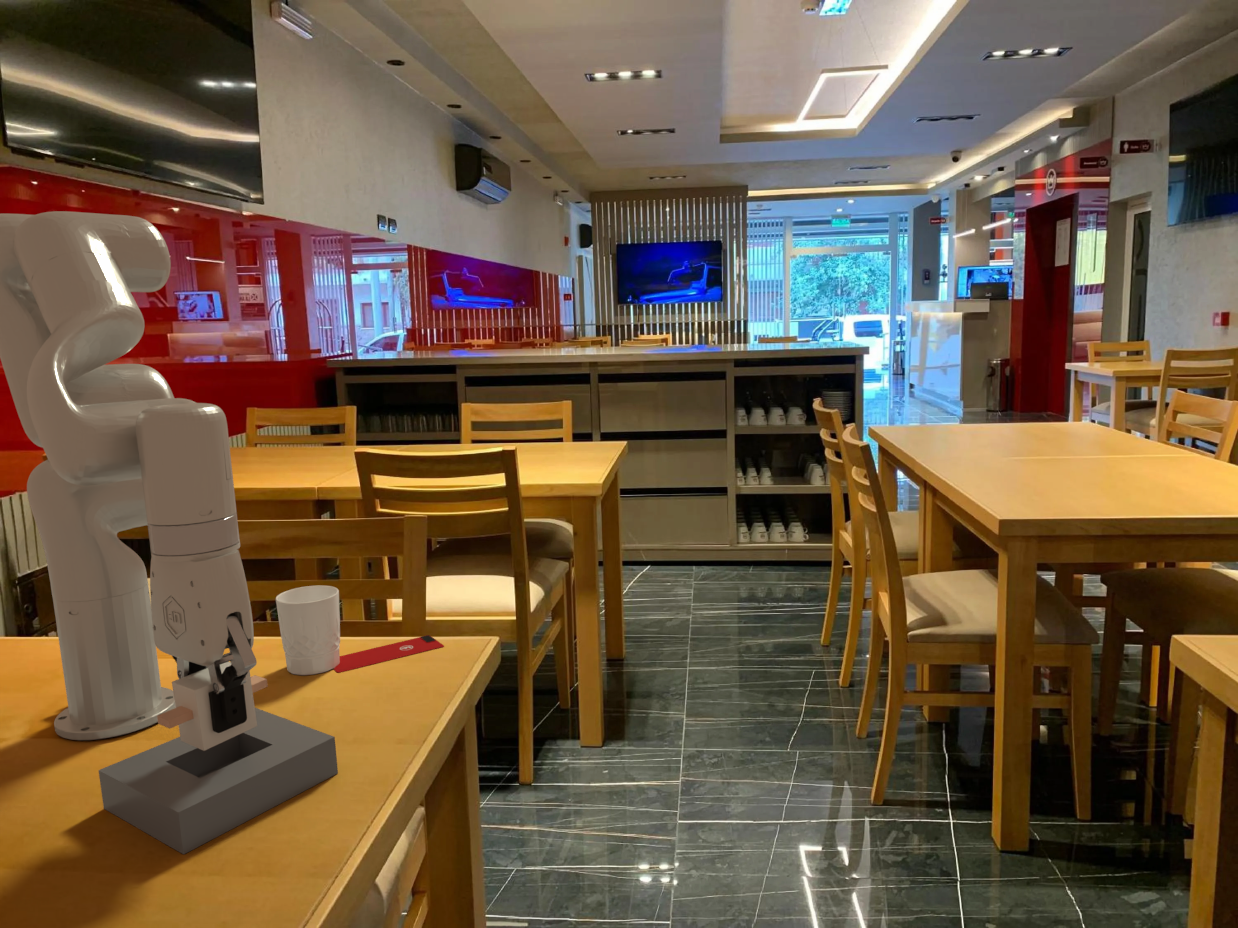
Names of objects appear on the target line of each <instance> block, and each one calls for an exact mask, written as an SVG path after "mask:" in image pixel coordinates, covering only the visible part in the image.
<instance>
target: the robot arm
mask: <svg viewBox="0 0 1238 928" xmlns="http://www.w3.org/2000/svg"><path fill="white" fill-rule="evenodd" d="M170 256H171V255H170V252H169V247H168V245H167V242H166V240H165V238H164V237H163V235H162V233H161V232H160V231H159V230H158V228H157V227H156V226H154V225H153V223H151V222H150V221H149V220H147V219H145V218H142V217H140V216H134V215H133V216H132V215H126V214H125V215H124V214H111V213H110V214H109V213H99V212H98V213H95V212H81V211H67V210H65V211H64V210H63V211H57V210H56V211H55V210H53V211H46V212H44V211H43V212H40V213H37V214H26V213H0V362H1V364H2V365H1V366H2V369H3V371H4V375H5V378H6V382H7V385H8V387H9V391H10V394H11V397H12V400H13V403H14V406H15V409H16V412H17V415H18V418H19V420H20V424H21V426H22V428H23V431H24V433H25V434H26V437H27V438H28V439H29V440H30V441H31V442H32V443H33V444H34V445H36V446H37V447H39V448H41V449H43V451H44V453H45V456H46V458H47V459H46V460H43V461H42V462H41V463H39V464H38V465H37V466H35V467H34V468H33V469H32V471H31V472H30V474H29V476H28V479H27V482H26V492H27V495H26V496H27V499H28V500H27V501H28V503H29V508H30V510H31V513H32V516H33V518H34V522H35V525H36V527H37V531H38V534H39V537H40V541H41V544H42V546H43V551H44V555H45V561H46V564H47V570H48V576H49V577H48V578H49V582H50V590H51V595H52V596H51V597H52V602H53V609H54V615H55V622H56V631H57V637H58V642H59V643H58V644H59V651H60V659H61V664H62V665H61V666H62V673H63V679H64V685H65V692H66V693H65V694H66V700H67V706H68V707H67V708H65V709H63V710H62V711H61V712H60V713H58V715H57V716H56V717H55V718H54V722H53V725H54V732H55V733H56V735H58V736H59V737H61V738H64V739H68V740H72V741H93V740H95V741H96V740H103V739H108V738H109V739H110V738H113V737H114V738H115V737H119V736H123V735H127V734H130V733H133V732H137V731H140V730H143V729H145V728H148V727H150V726H152V725H155V724H156V723H158V718H157V716H158V715H160V714H162V713H165V712H167V711H170V710H172V709H174V708H176V706H175V700H174V693H173V689H170V688H167V687H165V686H162V685H161V684H162V683H161V677H160V676H161V675H160V668H159V659H158V652H157V649H158V650H159V651H160V652H161V653H163V654H164V653H165V654H167V655H169V656H171V657H172V659H173V660H174V662H175V663H176V675H177V678H178V679H180V678H183V677H186V676H188V675H191V674H193V673H196V672H198V671H201V670H204V669H206V668H208V670H209V675H210V679H211V684H212V688H213V691H212V692H209V702H210V710H211V719H212V727H213V731H214V732H217V733H221V732H223V731H226V730H228V729H230V728H233V727H235V726H237V725H240V724H242V723H244V722H245V721H246V720H247V712H246V703H245V694H244V685H243V684H245V683H246V675H247V673H248V671H249V670H250V671H251V670H252V669H253V668H254V667H256V665H257V658H256V656H255V653H254V652H253V647H254V638H255V637H254V636H255V635H254V620H253V613H252V612H253V611H252V606H251V601H250V600H251V599H250V594H249V589H248V583H247V578H246V574H245V570H244V566H243V561H242V559H241V558H242V557H241V553H240V550H239V549H240V547H241V541H240V533H239V523H238V512H237V503H236V493H235V485H234V484H235V483H234V475H233V466H232V457H231V448H230V447H231V446H230V439H229V428H228V427H229V426H228V421H227V417H226V414H225V412H224V410H223V409H222V408H221V407H220V406H218V405H216V404H213V403H207V402H196V401H193V400H192V399H187V398H182V397H176V398H175V396H174V394H173V391H172V389H171V387H170V385H169V383H168V381H167V380H166V379H165V377H164V376H163V375H162V374H161V373H160V372H159V371H158V370H156V369H155V368H153V367H151V366H150V365H145V364H141V363H140V364H139V363H115V364H114V363H113V364H111V362H113V361H115V360H117V359H119V358H121V357H122V356H124V355H126V354H127V353H129V352H130V351H131V350H133V349H134V347H135V346H136V345H137V344H138V343H140V340H141V339H142V337H143V336H144V332H145V319H144V315H143V313H142V311H141V309H140V308H139V306H138V304H137V302H136V300H135V297H134V296H133V294H132V293H154V292H157V291H159V290H161V289H162V288H164V286H165V285H166V283H168V280H169V277H170V275H171V265H172V264H171V263H172V262H171V261H172V260H171V257H170ZM109 363H110V364H109ZM144 526H147V531H148V539H149V547H150V555H151V558H150V569H149V570H150V572H149V573H150V574H149V579H150V580H149V581H148V575H147V574H148V573H147V568H146V566H145V563H144V561H143V560H142V558H141V556H139V555H138V553H136V551H134V550H133V549H132V548H131V547H130V546H128V545H127V544H125V543H124V542H123V541H122V540H120V538H119V537H118V533H119V532H120V533H121V532H123V531H127V530H131V529H135V528H140V527H144ZM226 649H229V652H227V653H225V650H226ZM226 662H231V665H230V666H228V667H226V668H225V670H224V672H223V673H221V669H220V664H223V663H226Z"/></svg>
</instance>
